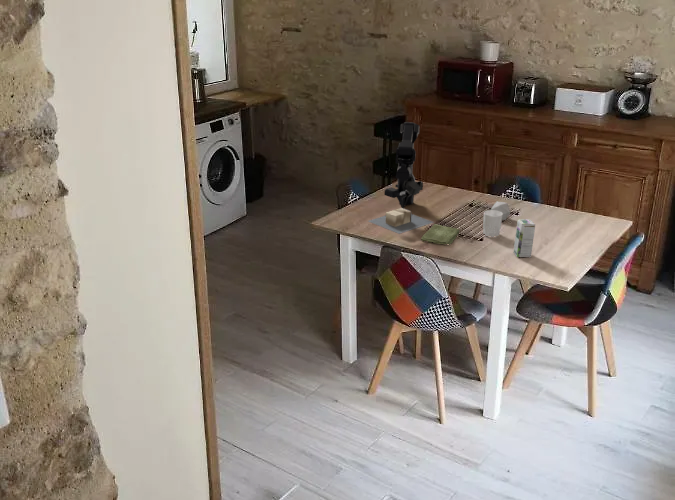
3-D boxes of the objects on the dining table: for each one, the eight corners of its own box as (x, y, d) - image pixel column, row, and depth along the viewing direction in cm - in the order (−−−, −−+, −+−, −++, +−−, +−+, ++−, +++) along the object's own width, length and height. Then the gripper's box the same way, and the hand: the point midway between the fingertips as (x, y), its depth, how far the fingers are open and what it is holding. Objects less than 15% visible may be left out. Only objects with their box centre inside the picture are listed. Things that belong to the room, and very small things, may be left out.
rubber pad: (402, 212, 328) (402, 210, 328) (433, 224, 314) (434, 222, 314) (367, 223, 315) (367, 221, 315) (399, 236, 301) (399, 233, 301)
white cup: (501, 232, 306) (503, 211, 302) (499, 239, 299) (501, 217, 295) (483, 230, 308) (485, 209, 304) (480, 236, 301) (482, 215, 297)
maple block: (402, 207, 316) (386, 212, 310) (411, 211, 312) (395, 216, 306) (401, 218, 318) (385, 223, 312) (411, 221, 314) (395, 226, 308)
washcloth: (419, 242, 296) (419, 235, 295) (432, 229, 311) (433, 222, 309) (449, 248, 291) (449, 240, 289) (461, 233, 305) (462, 227, 304)
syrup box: (512, 252, 286) (516, 219, 280) (527, 252, 286) (531, 218, 280) (517, 258, 280) (521, 224, 275) (531, 257, 281) (536, 223, 275)
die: (511, 218, 324) (503, 199, 325) (514, 215, 315) (506, 196, 316) (494, 225, 324) (486, 206, 325) (497, 222, 315) (489, 202, 317)
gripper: (402, 182, 295) (400, 217, 301) (432, 174, 306) (430, 208, 312) (384, 176, 303) (382, 210, 309) (414, 168, 314) (412, 201, 320)
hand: (402, 207), depth 312 cm, fingers closed
